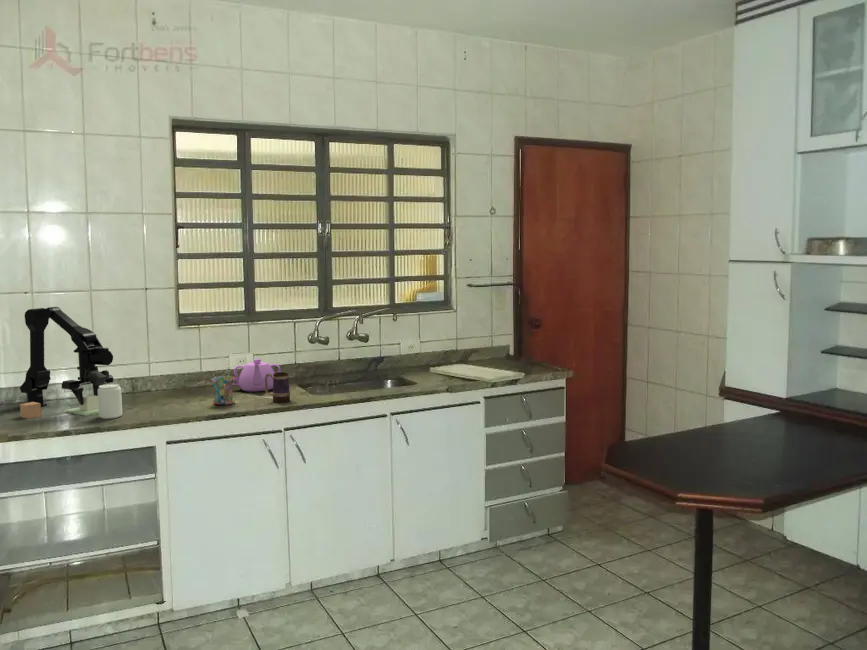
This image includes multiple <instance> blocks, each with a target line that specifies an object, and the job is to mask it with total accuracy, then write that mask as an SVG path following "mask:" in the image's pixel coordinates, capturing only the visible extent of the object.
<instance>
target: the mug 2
mask: <svg viewBox="0 0 867 650" xmlns="http://www.w3.org/2000/svg"><path fill="white" fill-rule="evenodd" d="M269 376H271V378H273V389H272V393H269V390H268V388H267V378H268V377H269ZM289 379H290V376H289V373H288V372H283V371H280V372H279V373H278V372H275V373H274V375H273V376H272V375H271V374H267V375H266V376H265V389H266V391H265V394H266V395H268V396H272V402H273V403H277V404H280V403H282V404H283V402H285V403H288V402H290V401H291V391H290V382H289V381H290V380H289Z"/></svg>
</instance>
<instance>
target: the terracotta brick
mask: <svg viewBox="0 0 867 650" xmlns="http://www.w3.org/2000/svg"><path fill="white" fill-rule="evenodd" d="M19 409H20V418H24V419H28V420H29V419H32V418H34V419H35V418H38V417H41V416H42V406H41V403H36V402H30V403H27V402H25V403H20V404H19Z"/></svg>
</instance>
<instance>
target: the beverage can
mask: <svg viewBox="0 0 867 650" xmlns="http://www.w3.org/2000/svg"><path fill="white" fill-rule="evenodd" d="M122 401H123V400H122V388H121V386H120V384H119V383H106V384H105V385H100V386H99V388H98V407H99V413H98V417H99V418H100V419H104V420H109V419H111V420H112V419H116V418H117V419H118V418H120V417H121V416H122V415H123V402H122Z"/></svg>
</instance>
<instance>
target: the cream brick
mask: <svg viewBox="0 0 867 650" xmlns="http://www.w3.org/2000/svg"><path fill="white" fill-rule="evenodd" d="M78 404H79V407H80V410H85V411H90V410H94V409H99V407H98V396H96V395H94V394H87V395H83V405H80V403H79V402H78Z"/></svg>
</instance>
